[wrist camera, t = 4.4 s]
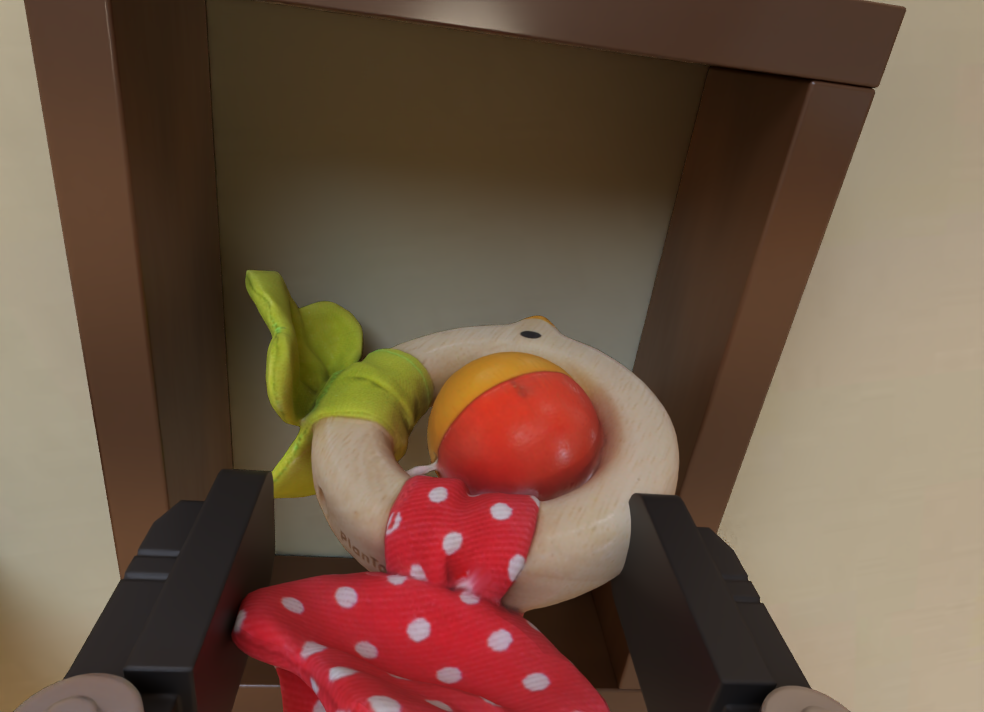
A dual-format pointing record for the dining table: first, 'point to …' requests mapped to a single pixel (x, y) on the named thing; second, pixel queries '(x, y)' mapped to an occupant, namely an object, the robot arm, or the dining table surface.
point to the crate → (483, 9)
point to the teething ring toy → (448, 508)
